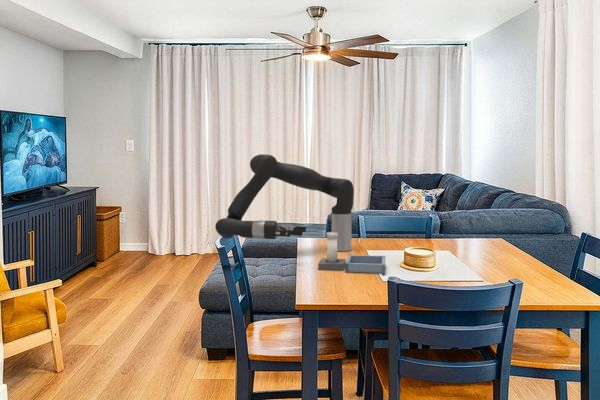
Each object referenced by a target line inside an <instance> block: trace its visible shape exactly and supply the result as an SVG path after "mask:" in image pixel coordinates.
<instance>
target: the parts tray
mask: <svg viewBox="0 0 600 400" xmlns="http://www.w3.org/2000/svg"><path fill="white" fill-rule="evenodd" d="M344 272H345V273H346V274H371V275H372V274H374V275H375V274H378V275H380V274H381V276H385V274H386V255H367V254H365V255H363V254H361V255H360V254H359V255H358V254H348V256H347V259H346V263H345V268H344Z"/></svg>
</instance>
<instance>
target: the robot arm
mask: <svg viewBox="0 0 600 400" xmlns="http://www.w3.org/2000/svg"><path fill="white" fill-rule="evenodd" d="M249 167H250V169H251V170H250V171H252V172H253V174H254V175H253V176H252V178H251V179H250V180H249V181H248V182H247V184H246V185H244V186H243V188H242V189H241V190H240V191H239V192H238V193H237V194H236V195H235V197H234V198H233V201H232V202H231V203H230V205H229V207H228V209H227V216H226V218H225V217H224V218H221V219H218V220H217V221H216V223H215V230H216V233H218V235H220V236H221V237H222V238H223V239H225V240H228V239H231V238H233V237H234V236H239V237H240V238H245V239H258V240H276V239H277V238H278V237H288V238H289V237H292V236H300V237H301V236H303V233H306V232H307V227H306V226H297V225H296V224H281V225H278V221H276V220H262V219H261V220H242V219H243V217H244V216H245V214H246V213H247V211H248V210H249V208H250V206H251V205H252V203H253V202H254V200H255V198H256V197H257V195H258V194H259V192H260V191H261V190H262V189H263V188H264V186H265V185H266V184H267V183H268V181H269V180H270V179H271V178H274V179H277V180H279V181H282V182H284V183H287V184H290V185H292V186H295V187H297V188H301V189H306V190H309V191H310V190H311V191H317V192H321V193H324V194H326V195H327V196H330V197H333V198H334V199H335V198H336V204H335V205H333V206H332V207H331V232H337V233H338V238H337V252H348V251H351V250H352V209H353V207H354V197H355V196H354V194H355V190H354V184H353V182H352V181H351V180H350V179H346V178H340V177H339V178H338V177H337V178H336V177H330V176H325V175H323V174H321V173H319V172H318V171H315V170H314V169H312V168H309V167H306V166H303V165H297V164H294V163H293V164H291V163H285V162H280V161H278V160H277V158H276V157H275V156H273V155H272V154H271V155H270V154H264V153H263V154H257V155H255V156H254V157H252V158H251V159H250V162H249Z"/></svg>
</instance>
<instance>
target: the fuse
mask: <svg viewBox="0 0 600 400" xmlns="http://www.w3.org/2000/svg"><path fill="white" fill-rule="evenodd" d="M337 238H338V233H337V232H332V231H329V232H326V246H327V247H326V250H327V251H326V253H327V255H326V258H327V263H338V262H337V259H338V251H337Z"/></svg>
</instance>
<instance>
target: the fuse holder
mask: <svg viewBox="0 0 600 400" xmlns="http://www.w3.org/2000/svg"><path fill="white" fill-rule="evenodd" d="M346 261H347V259H346V258H337V262H338V263H327V257H326V258H324V257H321V258H320V260H319V262H318V263H317V266H318V267H317V270H318V271H337V272H339V271H340V272H341V271H342V272H345V263H346Z"/></svg>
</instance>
